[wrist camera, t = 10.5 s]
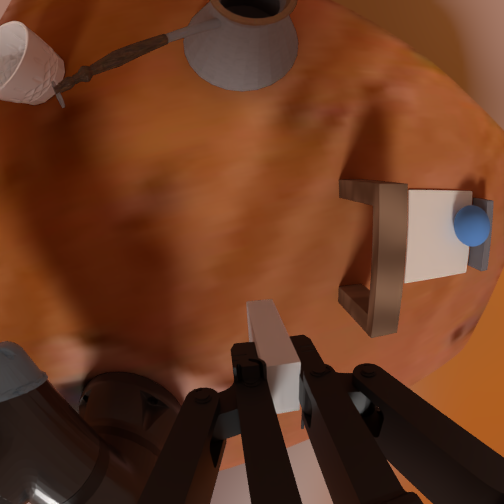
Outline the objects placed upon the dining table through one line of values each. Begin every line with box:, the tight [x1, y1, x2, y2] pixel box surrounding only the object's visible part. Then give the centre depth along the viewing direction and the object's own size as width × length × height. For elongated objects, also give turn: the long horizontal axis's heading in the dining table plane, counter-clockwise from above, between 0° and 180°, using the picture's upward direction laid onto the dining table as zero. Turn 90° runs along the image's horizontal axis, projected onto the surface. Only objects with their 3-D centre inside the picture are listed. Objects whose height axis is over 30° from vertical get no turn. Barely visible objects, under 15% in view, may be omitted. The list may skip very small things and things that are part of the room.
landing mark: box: [404, 190, 472, 283], centre depth 37 cm, size 12×12×1 cm
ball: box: [454, 205, 490, 247], centre depth 34 cm, size 6×6×6 cm
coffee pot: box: [51, 0, 298, 108], centre depth 21 cm, size 21×12×15 cm, turn 121°
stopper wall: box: [468, 198, 493, 271], centre depth 36 cm, size 10×2×3 cm, turn 3°
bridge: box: [338, 179, 408, 338], centre depth 31 cm, size 14×3×9 cm, turn 3°
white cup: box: [0, 21, 65, 105], centre depth 21 cm, size 8×8×10 cm
